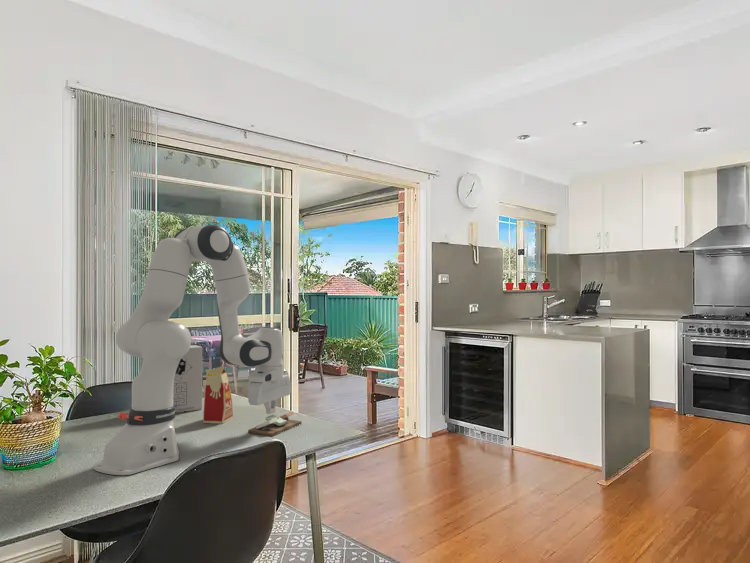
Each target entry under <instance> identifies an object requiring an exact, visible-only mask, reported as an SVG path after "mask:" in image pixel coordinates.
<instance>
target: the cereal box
mask: <svg viewBox="0 0 750 563" xmlns="http://www.w3.org/2000/svg"><path fill="white" fill-rule="evenodd" d="M139 358H140V362H139V363H140V364H139V365H140V368H139V371H140V370H141V367H142V363H143V358H142V357H139ZM173 404H174V405H175V412H179V413H184V411H187V412H192V411H201V410H202V409H203V346H199V345H194V344H193V345H191V346H190V349H189V350H188V352H187V353H186V354H185V355H184V356H183V357H182V358H181V360H180V362H179V364H178V367H177V370H176V373H175V378H174V398H173Z"/></svg>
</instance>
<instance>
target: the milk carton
mask: <svg viewBox="0 0 750 563" xmlns="http://www.w3.org/2000/svg"><path fill="white" fill-rule="evenodd" d="M204 371H205V372H206V373H205V374H206V375H205V384H204V385H205V386H204V387H205V388H204V401H203V421H202V423H203V424H218V425H219V424H221V425H223V424H225V423H227V422H229V421H231V420H232V419H234V406H233V400H232V399H233V398H232V391H231V387H230V382H229V377H228V374H227V371H226V369H225V365H223V366H222V365H221V366H219V367H215V368H210V369H204Z"/></svg>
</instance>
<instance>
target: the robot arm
mask: <svg viewBox="0 0 750 563" xmlns="http://www.w3.org/2000/svg"><path fill="white" fill-rule="evenodd" d="M193 262H207V264H209V267H210V268H211V271H212V276H213V280H214V281H213V282H214V286H215V291H216V305H217V306H216V307H217V316H218V322H219V330H220V344H219V355H220V358H221V359H222V361H223V362H224V363H226V364H228V365H229V366H241V367H246V368H253V367H256V366H257V368H256V369H254V371H252V372H251V373H249V375H248V376H247V381H248V382H249V384H248V389H247V400H248V403H249V404H250V406H260V405H264V408H265V412H266V413H265V414H267V415H272V414H274V413H275V412H276V407H277V404H278V400H279V399H282V398H284V397H287V396H290V394H291V392H292V386H291V377H290V376H289V372H288V371H287V369H285V368H284V365H285V364H284V359H283V355H284V337H283V332H282V330H281V329H280V328H277V327H271V326H261V327H259V329H258V330H257V331H256V332H254V333H252V334H250V335H249V336H247V337H246V336H245V337H244V336H243V335H242V334H241V331H240V326H239V318H238V308H239V306H240V305H241V303H242V302H244V301H245V300H246V299H247V298H248V296H249V294H250V293H251V281H250V276H249V272H248V267H247V264H246V260H245V258H244V256H243V254H242V250H241V249H240V247H239V246H238V245H236V244H234V243H233V240H232V238H231V236H230V233H229V232H228V230H226V229H225V228H224V227H222V226H220V225H216V224H207V225H195V226H193V227H192V226H191V227H189V228H183V229H182V230H180V231H178V232H177V233H176V234H175V235H174V236H173V237H167V238H163V239H162V240H160V241H159V242H158V244H157V245H156V247H155V250H154V252H153V255H152V258H151V259H150V264H149V266H148V271H147V274H146V275H147V276H146V280H145V282H144V287H143V290H142V293H141V297H140V299H139V301H138V303H137V305H136V307H135V309H134V311H133V312H132V314H131V316H130V317H129V318H128V320H127V321H126V322H125V323H124V324H122V325H121V326H120V328H119V329H118V330H117V333H116V337H115V338H116V339H115V340H116V341H115V342H116V344H117V346H118V348H119V349H120V351H122V352H124V353H125V354H128V355H129V356H132V357H136V358H140V357H142V358H143V363H142V367H141V370H140V369H139V372H138V374H137V375H136V376H135V377H134V378H133V379H132V381H131V407H130V409H129V412H123V411H121V412H119V414H118V416H117V417H118V419H119V420H123V421H125V424H124V425H123V426H122V428H121V429H119V431H118V432H116V434H115V435H113V437H112V438H111V439H110V440H109V441H108V442H107V443H106V444H105V447H104V451H103V458H102V459H103V460H100V461H97V462H95V463H94V464H93V469H94V470H95V471H97V472H99V473H103V474H106V475H107V474H108V475H115V476H129V475H130V476H131V475H134V474H137V473H140V472H143V471H147V470H151V469H154V468H158V467H160V466H164V465H167V464H170V463H174V462H177V461H179V459H180V458H179V455H180V450H179V448H178V443H177V437H176V429H175V421H174V420H175V418H176V413H175V405H174V404H173V398H174V378H175V373H176V370H177V367H178V364H179V362H180V360H181V358H182V357H183V356H184V355H185V354H186V353H187V352H188V350H189V349H190V346H192V335H191V334H192V333H191V332H190V330H189V329H188V327H186V326H184V325H182V324H180V323H178V322H175V321H172V320H171V321H170V317H171V315H172V314H173V313H174V312H175V310H177V309H178V308H179V307H180V306H181V305H182V303H183V301H184V297H185V291H186V287H187V282H188V278H189V273H190V268H191V265H192V264H193Z"/></svg>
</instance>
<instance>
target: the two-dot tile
mask: <svg viewBox="0 0 750 563" xmlns="http://www.w3.org/2000/svg"><path fill="white" fill-rule="evenodd" d="M275 418H276V419H277V421H276V422H273V423H274V424H276V425H278V426H281V425H283V424H285V423H286V422H287V420H284V419H282V418H280V416H277V415H274V414H269V415H268V416H265V421H266V422H267V421H270V420H273V419H275Z"/></svg>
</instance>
